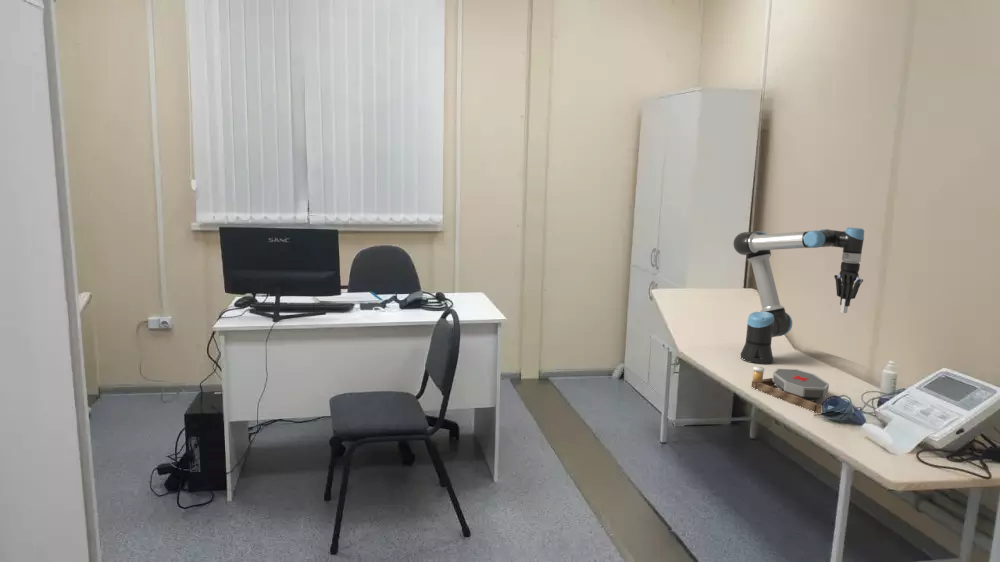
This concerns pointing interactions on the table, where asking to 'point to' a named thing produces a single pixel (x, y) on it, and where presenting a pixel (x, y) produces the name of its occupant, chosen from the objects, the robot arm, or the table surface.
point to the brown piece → (784, 395)
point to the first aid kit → (801, 383)
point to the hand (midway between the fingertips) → (843, 312)
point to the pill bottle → (758, 373)
